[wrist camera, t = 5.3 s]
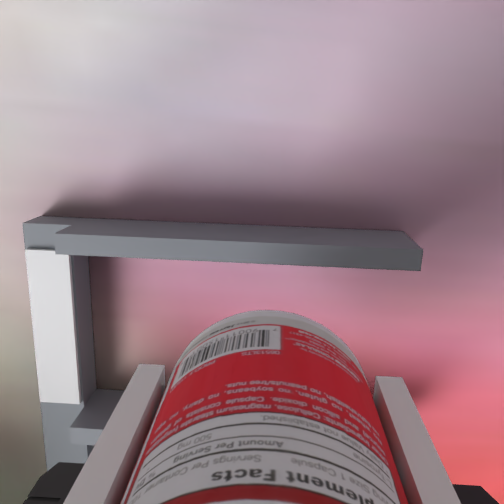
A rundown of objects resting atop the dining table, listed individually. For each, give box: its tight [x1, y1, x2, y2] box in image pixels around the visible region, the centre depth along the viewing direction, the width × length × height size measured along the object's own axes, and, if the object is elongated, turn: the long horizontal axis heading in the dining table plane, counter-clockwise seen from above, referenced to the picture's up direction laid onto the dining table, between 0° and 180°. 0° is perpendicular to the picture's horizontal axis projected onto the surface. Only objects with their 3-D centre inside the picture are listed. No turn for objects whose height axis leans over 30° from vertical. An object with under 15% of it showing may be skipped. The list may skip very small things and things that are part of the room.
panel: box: [23, 216, 423, 471], centre depth 22 cm, size 24×16×3 cm, turn 178°
